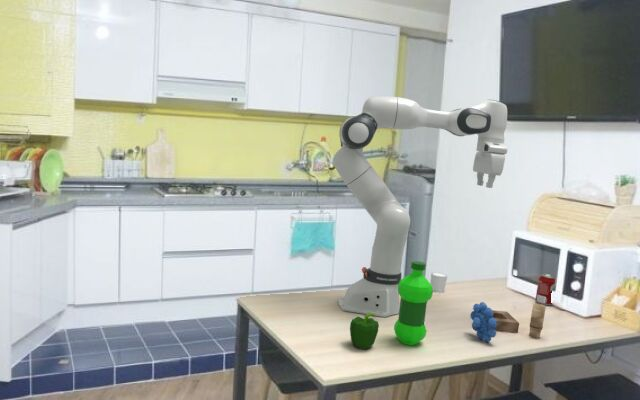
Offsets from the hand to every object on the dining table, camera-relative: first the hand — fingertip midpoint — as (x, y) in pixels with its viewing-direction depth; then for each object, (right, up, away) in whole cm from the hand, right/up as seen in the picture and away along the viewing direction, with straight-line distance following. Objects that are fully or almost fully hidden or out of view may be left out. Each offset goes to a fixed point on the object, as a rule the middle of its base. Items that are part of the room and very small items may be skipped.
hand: (484, 186), depth 193 cm
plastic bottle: (-31, -49, -24) cm, 62 cm away
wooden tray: (+4, -49, +1) cm, 49 cm away
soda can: (+35, -48, +35) cm, 69 cm away
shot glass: (-9, -43, +38) cm, 58 cm away
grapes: (-7, -50, -16) cm, 53 cm away
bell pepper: (-46, -48, -31) cm, 73 cm away
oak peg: (+15, -51, -7) cm, 54 cm away
